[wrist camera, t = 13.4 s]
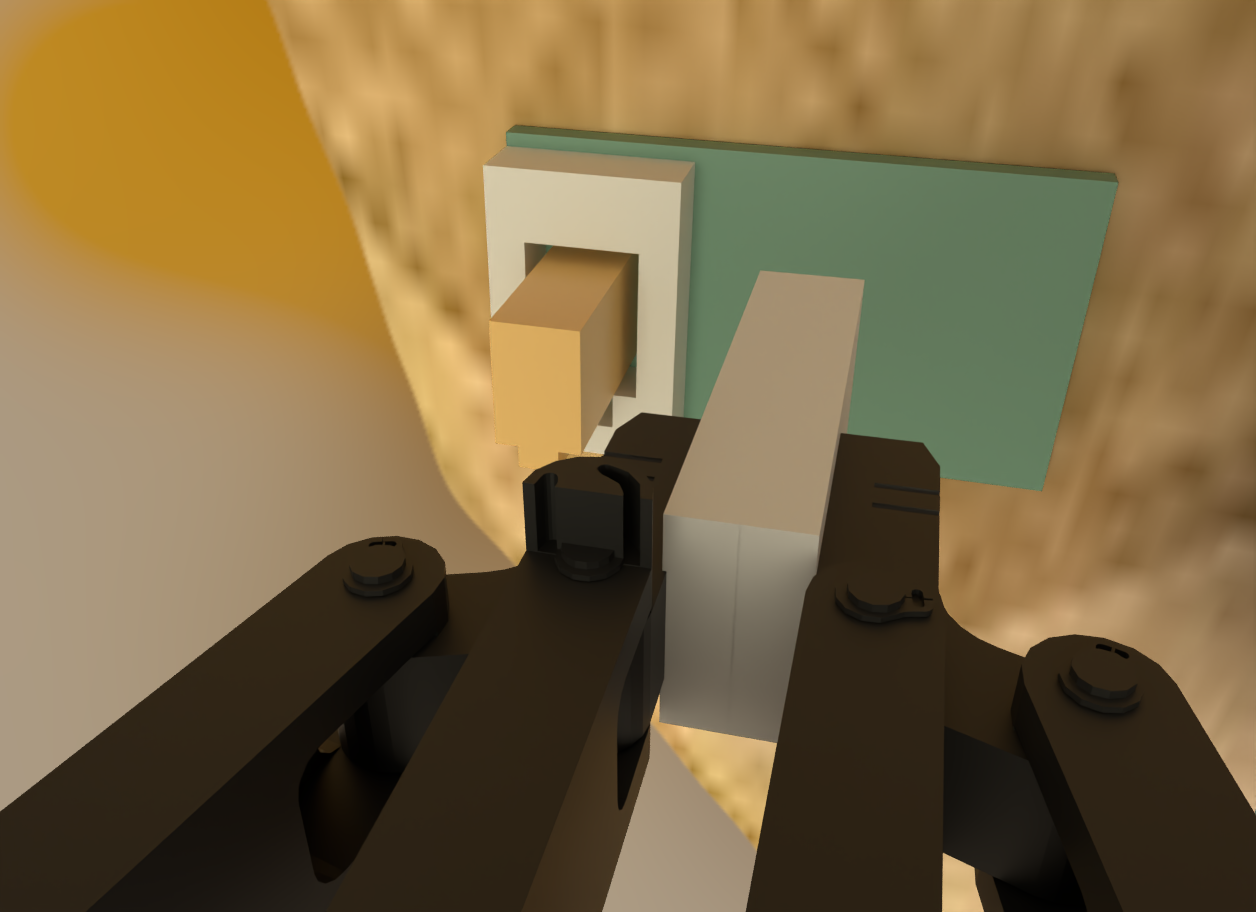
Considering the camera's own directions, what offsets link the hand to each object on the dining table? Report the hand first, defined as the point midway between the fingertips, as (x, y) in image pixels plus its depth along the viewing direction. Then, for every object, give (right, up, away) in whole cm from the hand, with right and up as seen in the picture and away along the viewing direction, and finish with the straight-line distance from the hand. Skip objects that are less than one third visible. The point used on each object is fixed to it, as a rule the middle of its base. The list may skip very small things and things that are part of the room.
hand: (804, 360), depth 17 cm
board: (+3, +4, +26) cm, 26 cm away
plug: (-4, +5, +26) cm, 27 cm away
